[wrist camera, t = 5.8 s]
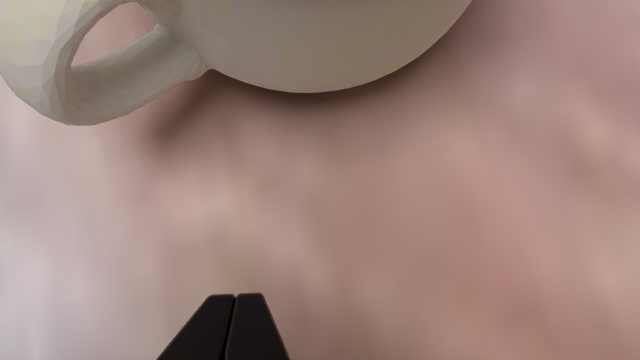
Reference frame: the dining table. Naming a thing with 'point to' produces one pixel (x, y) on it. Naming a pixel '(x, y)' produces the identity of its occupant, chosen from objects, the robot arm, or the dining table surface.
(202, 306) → the robot arm
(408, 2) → the teacup
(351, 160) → the dining table surface
